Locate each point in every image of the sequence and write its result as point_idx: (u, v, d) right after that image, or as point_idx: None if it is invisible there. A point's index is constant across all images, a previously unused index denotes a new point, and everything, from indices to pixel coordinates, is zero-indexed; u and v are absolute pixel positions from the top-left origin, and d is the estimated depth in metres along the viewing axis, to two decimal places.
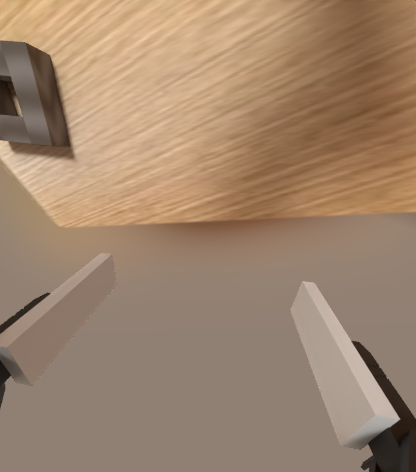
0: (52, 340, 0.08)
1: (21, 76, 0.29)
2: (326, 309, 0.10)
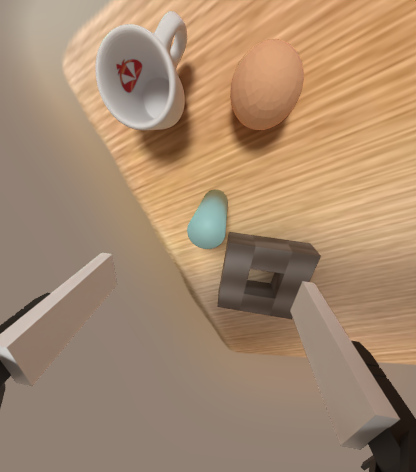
0: (52, 340, 0.08)
1: (296, 275, 0.29)
2: (326, 309, 0.10)
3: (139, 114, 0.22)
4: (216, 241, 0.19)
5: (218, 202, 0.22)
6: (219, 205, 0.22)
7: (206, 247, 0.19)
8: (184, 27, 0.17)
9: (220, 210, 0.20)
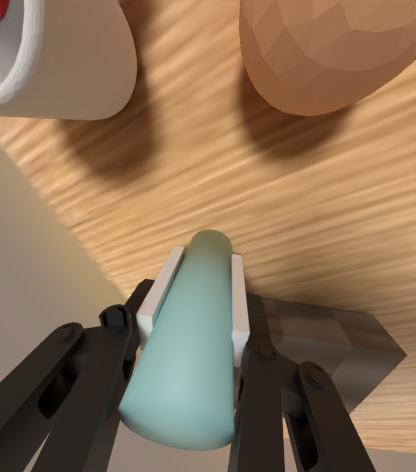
0: None
1: (354, 378, 0.16)
2: (239, 272, 0.12)
3: None
4: (207, 443, 0.06)
5: (214, 283, 0.10)
6: (216, 297, 0.09)
7: (179, 447, 0.07)
8: None
9: (218, 324, 0.08)
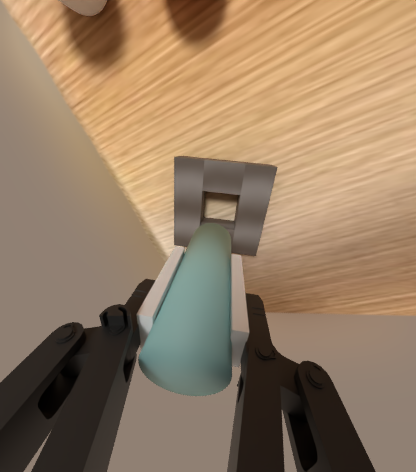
0: None
1: (253, 196, 0.26)
2: (239, 272, 0.12)
3: None
4: (210, 387, 0.08)
5: (215, 265, 0.11)
6: (217, 276, 0.11)
7: (187, 393, 0.08)
8: None
9: (219, 296, 0.09)
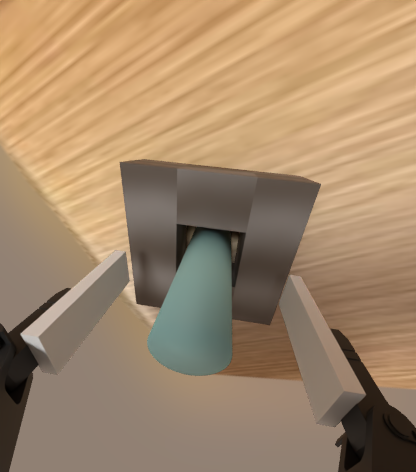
0: (74, 332, 0.09)
1: (271, 235, 0.14)
2: (309, 300, 0.10)
3: None
4: (212, 366, 0.09)
5: (216, 258, 0.12)
6: (218, 268, 0.11)
7: (191, 373, 0.09)
8: None
9: (220, 285, 0.10)
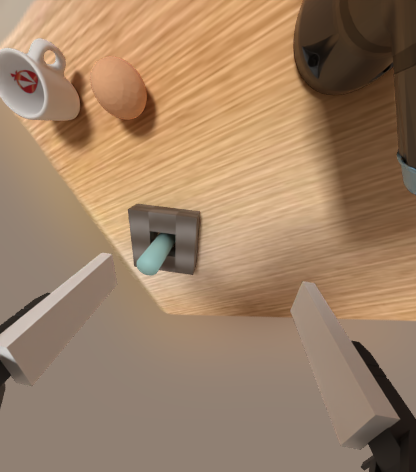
0: (52, 340, 0.08)
1: (184, 235, 0.37)
2: (326, 309, 0.10)
3: (40, 109, 0.30)
4: (154, 271, 0.32)
5: (161, 243, 0.35)
6: (160, 246, 0.34)
7: (149, 274, 0.32)
8: (53, 48, 0.25)
9: (159, 250, 0.33)
